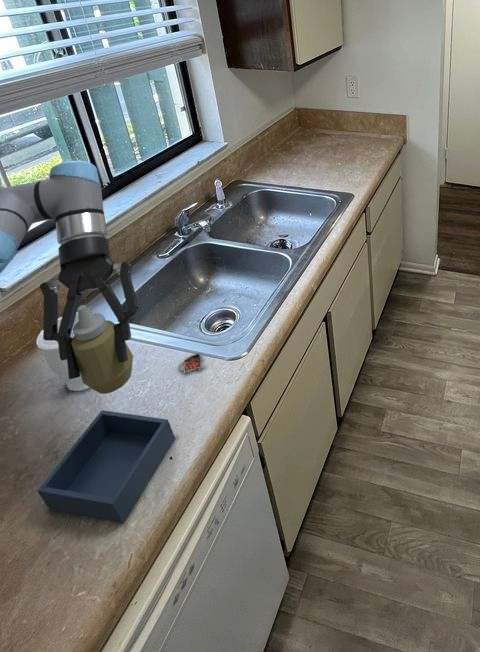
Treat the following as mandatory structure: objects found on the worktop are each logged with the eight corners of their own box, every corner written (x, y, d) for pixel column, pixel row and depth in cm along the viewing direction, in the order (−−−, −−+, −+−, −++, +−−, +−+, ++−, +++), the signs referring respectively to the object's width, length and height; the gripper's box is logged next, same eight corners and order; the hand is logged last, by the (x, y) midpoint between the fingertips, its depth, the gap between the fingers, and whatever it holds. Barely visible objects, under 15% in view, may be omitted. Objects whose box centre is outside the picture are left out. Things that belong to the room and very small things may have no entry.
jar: (83, 402, 96) (58, 354, 89) (50, 388, 99) (24, 341, 92) (125, 362, 105) (105, 316, 98) (93, 351, 108) (72, 306, 101)
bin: (49, 510, 77) (36, 490, 75) (111, 429, 90) (101, 409, 88) (123, 523, 75) (112, 504, 73) (175, 438, 88) (168, 419, 86)
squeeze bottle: (126, 354, 86) (97, 284, 78) (146, 375, 82) (118, 302, 74) (80, 385, 80) (43, 312, 72) (100, 408, 76) (63, 334, 68)
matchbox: (198, 353, 107) (198, 351, 106) (205, 366, 103) (204, 365, 103) (178, 363, 104) (177, 362, 104) (184, 378, 100) (184, 377, 100)
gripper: (146, 231, 88) (166, 348, 82) (28, 259, 81) (40, 390, 75) (137, 223, 82) (158, 349, 76) (8, 252, 74) (19, 395, 68)
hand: (99, 369), depth 75 cm, fingers closed on squeeze bottle, 6 cm apart
